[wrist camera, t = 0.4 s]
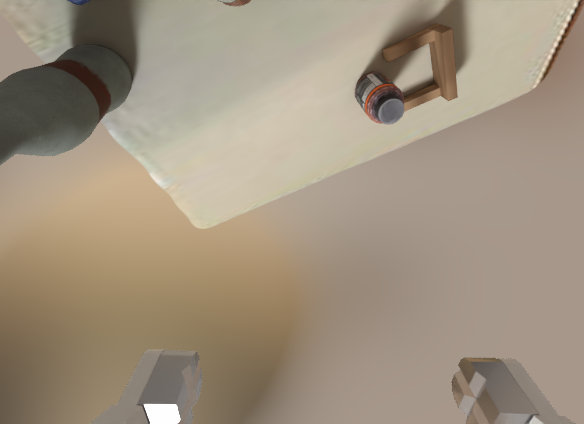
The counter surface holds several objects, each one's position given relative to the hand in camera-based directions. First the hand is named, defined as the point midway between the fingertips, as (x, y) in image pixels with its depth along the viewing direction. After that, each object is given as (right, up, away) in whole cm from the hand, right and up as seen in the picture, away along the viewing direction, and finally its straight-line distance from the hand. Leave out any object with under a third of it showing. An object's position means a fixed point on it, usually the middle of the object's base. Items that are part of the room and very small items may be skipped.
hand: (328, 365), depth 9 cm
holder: (+20, +30, +43) cm, 56 cm away
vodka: (-31, +27, +39) cm, 57 cm away
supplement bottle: (+13, +27, +44) cm, 53 cm away
